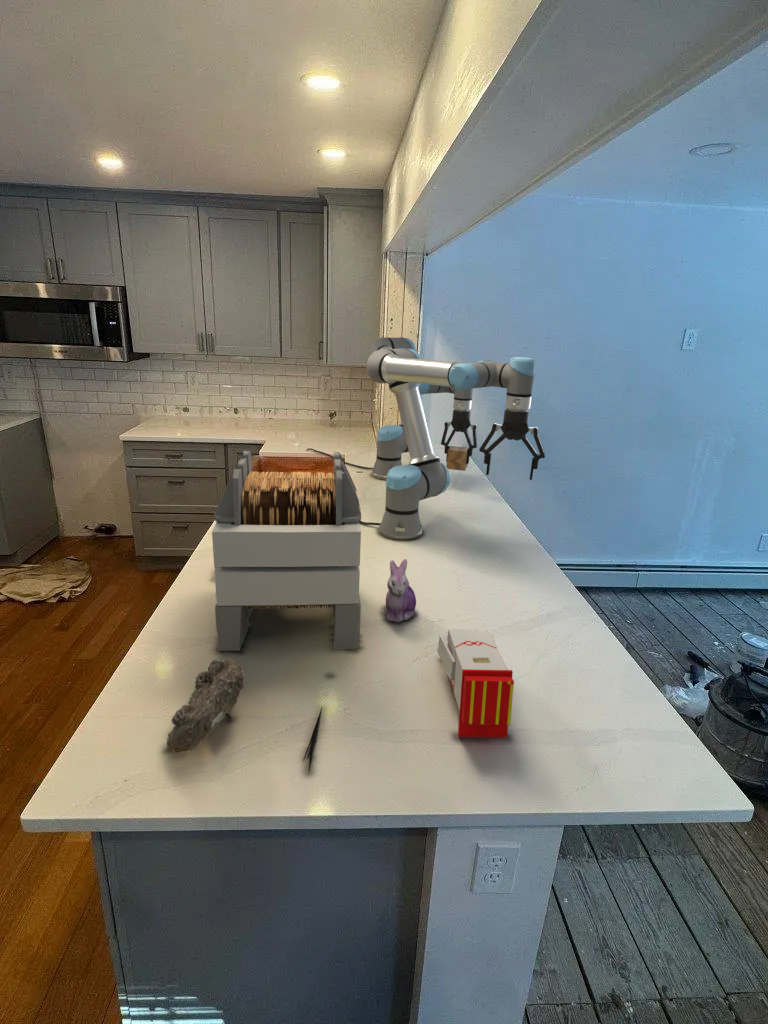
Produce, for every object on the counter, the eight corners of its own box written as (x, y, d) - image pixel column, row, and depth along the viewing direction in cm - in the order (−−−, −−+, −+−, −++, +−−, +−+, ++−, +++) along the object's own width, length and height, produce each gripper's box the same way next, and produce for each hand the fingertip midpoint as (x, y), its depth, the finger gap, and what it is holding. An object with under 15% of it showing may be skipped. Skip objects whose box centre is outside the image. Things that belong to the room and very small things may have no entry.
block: (446, 468, 244) (447, 449, 241) (449, 464, 252) (450, 445, 249) (464, 470, 242) (466, 451, 240) (467, 466, 250) (469, 447, 247)
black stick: (331, 679, 122) (336, 673, 122) (307, 777, 96) (313, 769, 95) (324, 675, 122) (329, 669, 121) (298, 772, 95) (304, 764, 95)
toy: (488, 613, 130) (523, 677, 101) (484, 667, 133) (517, 744, 104) (435, 612, 130) (455, 676, 101) (432, 666, 133) (451, 743, 103)
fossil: (192, 660, 117) (244, 628, 112) (224, 691, 120) (276, 661, 115) (142, 746, 98) (202, 712, 93) (182, 779, 101) (242, 748, 96)
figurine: (392, 627, 141) (395, 572, 136) (374, 608, 149) (376, 556, 144) (425, 619, 145) (429, 566, 140) (405, 601, 154) (408, 550, 149)
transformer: (235, 584, 159) (228, 441, 145) (352, 582, 163) (356, 443, 149) (215, 653, 127) (203, 479, 113) (360, 649, 131) (366, 481, 117)
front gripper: (474, 408, 173) (468, 474, 180) (559, 415, 167) (549, 484, 174) (477, 404, 180) (471, 468, 187) (559, 411, 174) (549, 477, 181)
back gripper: (435, 409, 238) (432, 461, 246) (486, 413, 233) (480, 466, 241) (439, 406, 245) (435, 457, 252) (487, 410, 240) (482, 462, 247)
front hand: (509, 476), depth 181 cm, fingers open, 13 cm apart
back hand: (457, 462), depth 246 cm, fingers closed on block, 8 cm apart
